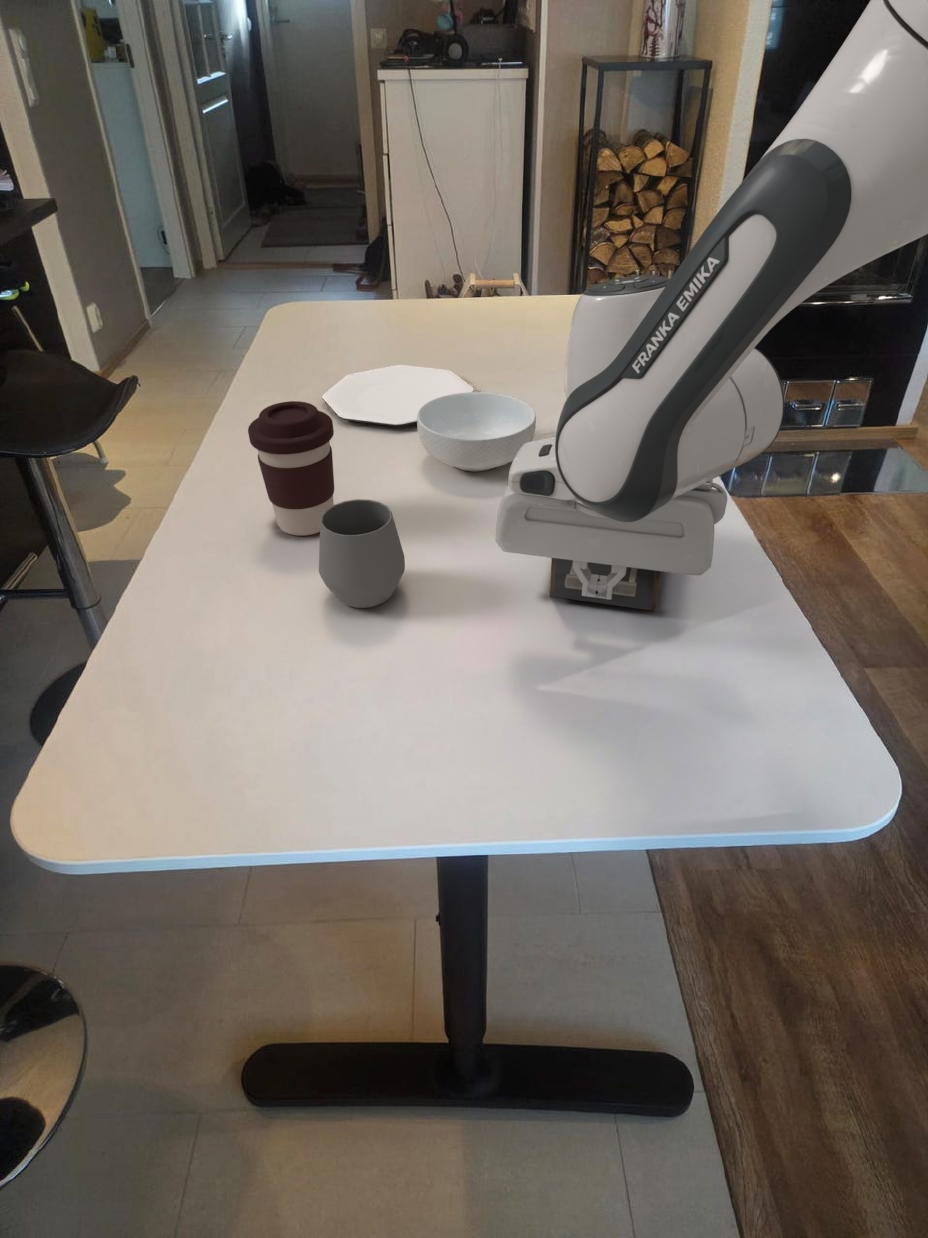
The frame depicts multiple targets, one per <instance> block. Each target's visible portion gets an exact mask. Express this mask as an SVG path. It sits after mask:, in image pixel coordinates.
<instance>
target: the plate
mask: <svg viewBox="0 0 928 1238" xmlns="http://www.w3.org/2000/svg"><path fill="white" fill-rule="evenodd" d="M466 392H475V388H474V386H472V385H471V384H469V383H468V382H467V381H465V380H464V379H462V378H461V377H460V376H458V375H457V374H455V373H454V371H451V370H449V369H445V368H435V367H425V366H417V365H415V366H414V365H405V364H395V365H394V364H393V365H389V366H384V367H380V368H374V369H369V370H364V371H363V370H362V371H358V372H353V373H349V374H347V375H345V376H343V377H342V378H341V379H340V380H338V381H337V383H335V384H334V385H332V387H330V388H329V389H328V390H327V391H325V392H324V393H323V394H322V396H321V399H322V401H323V402H325V403H326V405H327V406H328V407H329V408H330V409H331V410H332V411H333V412H334V413H335V415H336V416H338V418H339V419H341V420H343V421H351V422H357V423H358V422H359V423H365V424H366V423H367V424H374V425H382V426H389V427H404V426H407V425H408V426H409V425H413V424H417V414H418V411H419V409H420V408H421V407H422V406H423V405H424V404H426V403H427V402H429V401H431V400H433V399H436V398H438V397H442V396H446V395H450V394H456V393H466Z"/></svg>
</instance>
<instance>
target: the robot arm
mask: <svg viewBox="0 0 928 1238" xmlns="http://www.w3.org/2000/svg"><path fill="white" fill-rule="evenodd" d="M926 235H928V0H869V2H868V4H866V7H865V9H864V10H863V12H862V13H861V15H860V17H858V20H857V21H856V23H855V24H854V26H853V27H852V29H851V31H850V32H849V34H848V36H847V37H846V38H845V40H844V42H843V43H842V45H841V46H840V48H838V51H837V52H836V54H835V55H834V57H833V58H832V60H831V61H830V63H829V64H828V66H827V67H826V69H825V70H824V71H823V73H822V74H821V76H820V78H819V79H818V81H817V82H816V84H815V85H814V86H813V87H812V89H811V91H810V92H809V93H808V95H807V96H806V97H805V100H804V101H803V103H802V104H801V105H800V107H799V108H798V110H797V111H796V112H795V114H794V115H793V116H792V117H791V119H790V120H789V122H788V123H787V124H786V126H785V127H784V129H782V131H780V133H779V135H778V136H777V137H776V139H775V140H774V141H773V143H772V144H771V145H770V146H769V147H768V149H767V150H766V151H765V153H764V154H763V155H762V157H760V159H759V160H758V161H757V163H756V164H755V165H754V166H753V167H752V169H751V170H750V171H749V172H748V174H747V175H746V177H745V178H744V179H743V180H742V182H741V183H740V184H739V185H738V187H737V188H736V189H735V190H734V192H733V193H732V194H731V195H730V196H729V197H728V199H727V200H726V201H725V203H724V204H723V205H722V207H721V208H720V209H719V211H718V212H717V213H716V214H715V216H714V217H713V219H712V220H711V221H710V223H709V224H708V226H706V228H705V230H704V231H703V232H702V233H701V235H700V236H699V238H698V239H697V240H696V242H695V244H694V245H693V246H692V248H691V249H690V250H689V252H688V254H687V255H686V256H685V258H684V259H683V261H682V262H681V264H680V265H679V266H678V268H677V270H675V272H674V274H673V275H672V276H671V278H669V277H667V276H664V275H660V274H659V275H658V274H635V275H631V276H624V277H622V276H620V277H616V278H611V279H608V280H603V281H601V282H598V283H595V284H593V285H591V286H589V287H588V288H587V289H586V290H584V291H583V292H582V293H581V294H580V296H579V297H578V300H577V302H576V303H575V306H574V309H573V312H572V317H571V321H570V326H569V332H568V338H567V344H566V354H565V367H564V383H563V384H564V385H563V387H564V395H565V399H566V400H565V401H564V404H563V406H562V409H561V412H560V414H559V418H558V422H557V427H556V430H555V431H556V432H555V436H551V437H546V438H541V439H536V440H532V441H531V442H528V443H525V444H524V445H523V446H522V447H521V448H520V450H519V451H518V453H517V454H516V456H515V458H514V460H513V461H512V462H511V464H510V468H509V472H508V478H507V479H508V480H507V481H508V485H507V486H506V488H505V490H504V493H503V495H502V498H501V500H500V503H499V507H498V510H497V512H498V513H497V517H496V524H495V544H497V546H498V547H499V548H500V549H501V551H502V552H505V553H509V554H510V553H511V554H517V555H518V554H519V555H527V556H534V557H545V558H551V559H552V558H558V559H566V560H573V570H574V571H575V573H576V575H577V576H578V578H579V579H580V581H581V583H583V586H582V596H587V597H595V598H603V599H610V600H611V599H612V594H613V588H614V586H615V585H616V584H617V583H618V582H619V581H620V580H621V579H622V578H623V577H624V576H625V575H626V570H627V567H631V568H639V569H647V570H655V571H662V573H663V572H664V573H672V574H680V575H689V576H697V577H699V576H702V575H704V574H705V573H706V572H708V571H709V570H710V569H711V567H712V563H713V555H714V546H715V545H714V544H715V543H714V542H715V525H717V524H718V523H719V522H721V520H722V519H724V516H725V513H726V509H727V505H728V504H727V503H728V494H727V492H726V489H724V488H723V486H721V485H720V484H719V483H717V482H714V479H717V478H718V477H720V476H722V475H723V474H726V473H727V472H729V471H731V470H734V469H735V468H737V467H740V466H741V465H744V464H746V463H748V462H749V461H751V460H752V459H754V458H756V457H758V456H760V455H761V454H763V453H764V452H766V451H767V450H768V449H769V448H770V447H771V446H772V445H773V443H774V442H775V440H776V439H777V437H778V435H779V433H780V430H781V428H782V425H783V422H784V416H785V393H784V388H783V383H782V381H781V378H780V376H779V373H778V370H777V369H776V368H775V366H774V365H773V362H772V361H771V360H770V359H769V358H768V357H767V356H766V355H765V354H764V353H763V352H762V351H761V350H759V349H758V348H757V345H758V344H760V342H761V341H762V340H763V338H764V337H765V336H766V335H767V334H768V333H769V332H770V331H771V330H772V329H773V328H774V327H775V326H776V325H777V324H778V323H779V322H780V321H781V320H783V318H785V316H786V315H788V314H789V313H791V311H792V310H794V309H795V308H796V307H798V306H799V305H801V304H802V303H803V302H804V301H806V300H807V299H808V298H811V296H813V295H815V294H816V293H817V292H819V291H821V290H822V289H824V288H826V287H827V286H829V285H830V284H832V283H834V282H835V281H837V280H839V279H841V278H843V277H844V276H846V275H847V274H849V273H852V272H853V271H855V270H857V269H859V268H861V267H863V266H865V265H866V264H869V263H871V262H873V261H874V260H877V259H878V258H882V257H883V256H884V255H887V254H889V253H891V252H893V251H895V250H897V249H899V248H902V247H904V246H905V245H907V244H910V243H912V242H914V241H917V240H918V239H920V238H922V237H924V236H926ZM588 562H591V563H599V564H607V565H612V569H611V573H610V574H609V575H608V576H605V575H597V574H592V573H591V571H590V569H589V567H588Z"/></svg>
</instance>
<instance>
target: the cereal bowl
mask: <svg viewBox="0 0 928 1238" xmlns="http://www.w3.org/2000/svg"><path fill="white" fill-rule="evenodd" d="M536 424H537V415H536V412H535V410H534V408H533V407H532V406H531V405H530V404H529V403H527V402H526V401H524V400H522V399H520V398H518V397H515V396H512V395H508V394H503V393H498V392H487V391H474V392H466V393H456V394H450V395H446V396H442V397H438V398H436V399H433V400H431V401H429V402H427V403H426V404H424V405H423V406H422V407H421V408H420V409H419V411H418V414H417V423H416V425H417V428H416V429H417V434H418V437H419V440H420V443H421V445H422V446H423V448H424V449H425V450H426V452H427V453H428V454H429V455H430V456H432V457H433V458H434V459H436V460H437V461H439V462H441V463H444V464H446V465H449V466H452V467H454V468H456V469H459V470H462V471H465V472H484V471H489V470H493V469H495V468H498V467H501V466H505V465H507V464H509V463H512V462H513V460H514V458H515V456H516V454H517V453H518V451H519V450H520V448H521V447H522V446H523V445H524V444H525V443H528V442H531V441H534V437H535V434H536V433H535V432H536Z"/></svg>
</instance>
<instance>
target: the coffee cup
mask: <svg viewBox="0 0 928 1238" xmlns="http://www.w3.org/2000/svg"><path fill="white" fill-rule="evenodd" d="M258 414H259V415H258V417H257V418H255V419H254V420H253V421H252V422H251V423H250V424H249V425H248V428H247V434H248V439H249V443H250V445H251V447H253V448H254V449H256V450H257V461H258V464H259V468H260V471H261V476H262V479H263V482H264V486H265V489H266V493H267V497H268V499H269V502H270V503H271V505H272V509H273V512H274V513H273V514H274V516H275V519H276V524H277V526H278V527H279V529H280V531H282V532H284V533H286V534H288V535H291V536H312V535H315V534H318V533H319V534H320V522H321V516H322V514H323V513H324V512H325V511H326V510H327V509H328V508H330V507H332V506H333V505H335V503H334V494H335V476H334V475H335V474H334V461H333V448H332V446H331V443H330V441H331V440H332V439H333V437H334V434H335V433H334V432H335V430H334V429H335V428H334V423H333V419H332V418H331V416H330V415H328V414H327V413H326V412H324V411H320V410H319V409H318V408H317V407H316V406H315V405H314V404H312V403H309V402H306V401H299V400H297V401H295V400H289V401H282V402H278V403H274V404H271V405H268V406H266V407H265V408H264V409H262V410H261V411H260V413H258Z"/></svg>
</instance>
